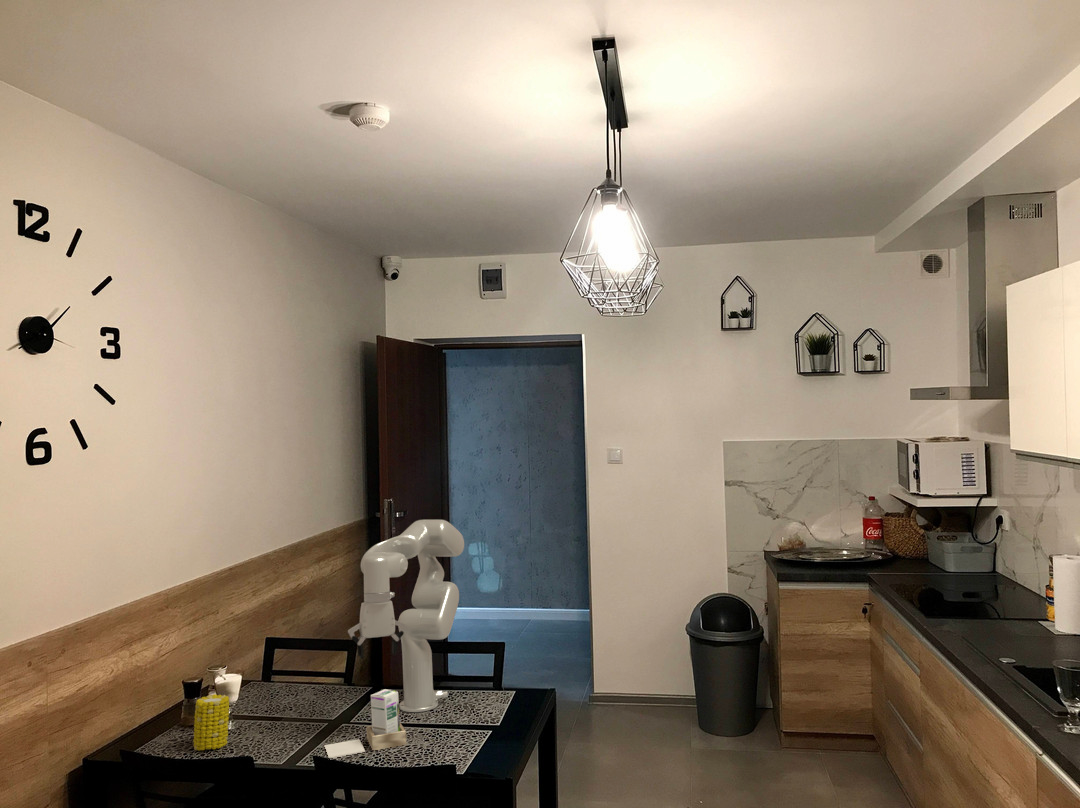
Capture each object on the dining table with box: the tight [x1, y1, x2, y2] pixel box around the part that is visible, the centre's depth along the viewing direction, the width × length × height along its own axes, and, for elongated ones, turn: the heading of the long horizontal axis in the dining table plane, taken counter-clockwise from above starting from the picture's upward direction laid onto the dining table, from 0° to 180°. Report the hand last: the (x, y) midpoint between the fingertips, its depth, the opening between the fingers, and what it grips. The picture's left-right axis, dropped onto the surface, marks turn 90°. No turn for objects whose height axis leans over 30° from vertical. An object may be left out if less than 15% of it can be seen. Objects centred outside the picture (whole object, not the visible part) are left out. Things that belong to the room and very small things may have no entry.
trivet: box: [323, 738, 366, 760], centre depth 237 cm, size 10×10×1 cm
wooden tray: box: [366, 722, 407, 751], centre depth 241 cm, size 10×10×4 cm
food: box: [192, 693, 230, 751], centre depth 245 cm, size 15×12×10 cm
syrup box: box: [370, 688, 401, 736], centre depth 242 cm, size 6×6×14 cm
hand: (378, 656), depth 247 cm, fingers open, 9 cm apart
